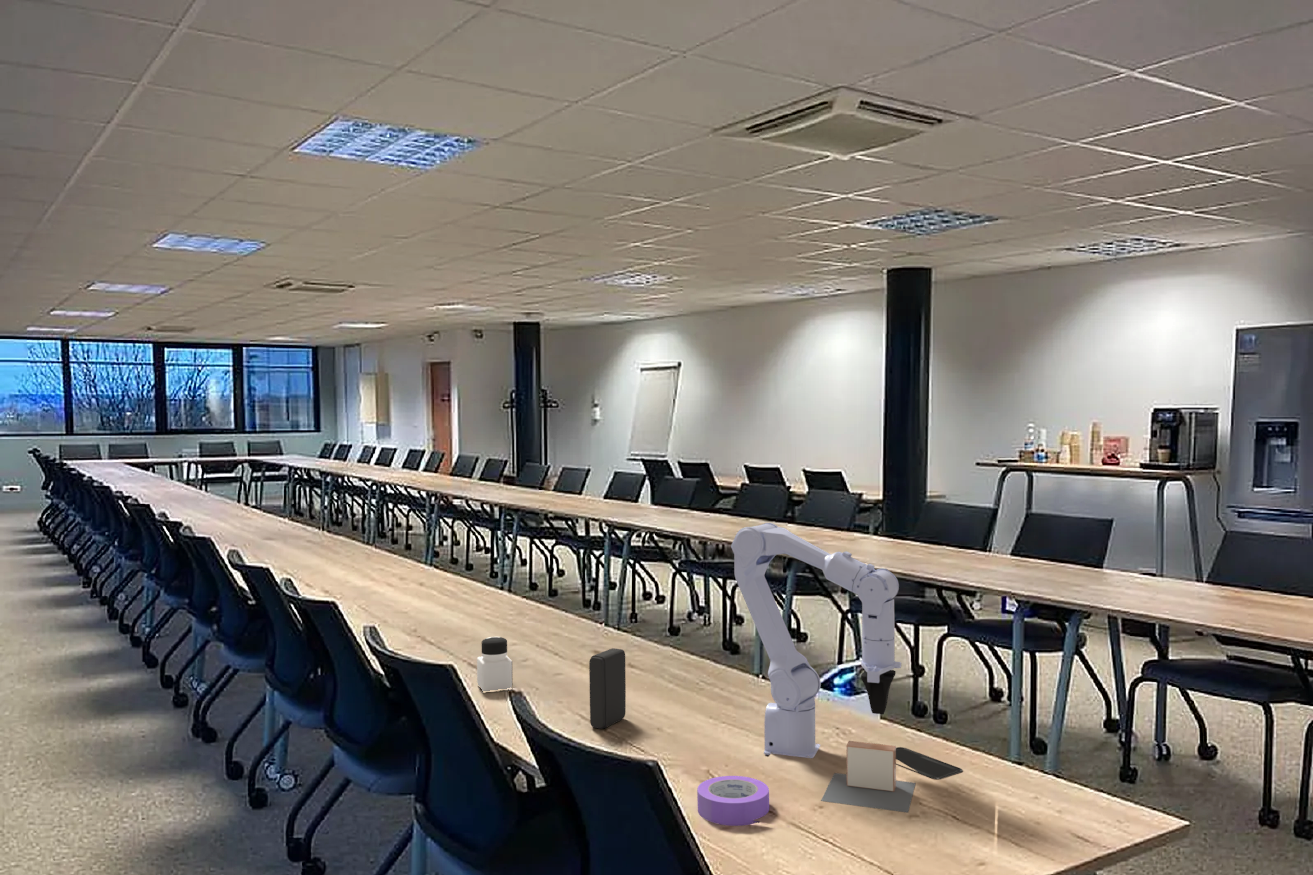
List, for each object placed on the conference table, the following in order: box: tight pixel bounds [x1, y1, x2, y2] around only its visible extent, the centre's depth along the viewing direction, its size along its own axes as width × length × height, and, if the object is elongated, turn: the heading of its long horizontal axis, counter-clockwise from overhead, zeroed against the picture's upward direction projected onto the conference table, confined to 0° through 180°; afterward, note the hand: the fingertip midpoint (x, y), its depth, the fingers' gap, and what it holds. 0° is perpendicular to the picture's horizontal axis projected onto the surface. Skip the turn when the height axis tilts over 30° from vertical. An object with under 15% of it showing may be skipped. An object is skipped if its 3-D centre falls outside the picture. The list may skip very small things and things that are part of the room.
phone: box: [896, 746, 963, 780], centre depth 172 cm, size 8×1×15 cm
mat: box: [820, 772, 916, 813], centre depth 159 cm, size 14×13×1 cm
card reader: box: [588, 647, 627, 730], centre depth 198 cm, size 9×4×15 cm, turn 149°
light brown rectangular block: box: [846, 740, 897, 792], centre depth 161 cm, size 8×3×7 cm, turn 70°
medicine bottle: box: [476, 636, 514, 692], centre depth 225 cm, size 7×7×12 cm
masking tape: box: [696, 775, 770, 827], centre depth 153 cm, size 12×12×4 cm
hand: (878, 712), depth 170 cm, fingers closed
